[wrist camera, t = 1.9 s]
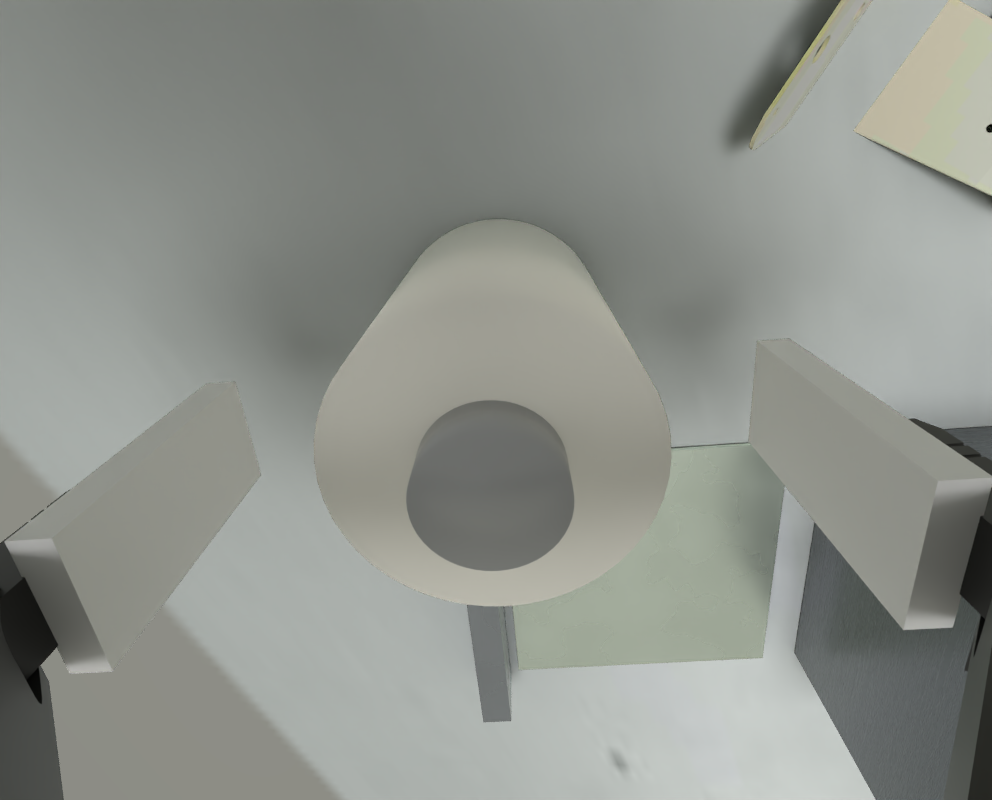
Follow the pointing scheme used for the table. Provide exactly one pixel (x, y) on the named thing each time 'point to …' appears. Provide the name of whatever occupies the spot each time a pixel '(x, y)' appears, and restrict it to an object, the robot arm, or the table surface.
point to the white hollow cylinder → (493, 425)
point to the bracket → (914, 93)
